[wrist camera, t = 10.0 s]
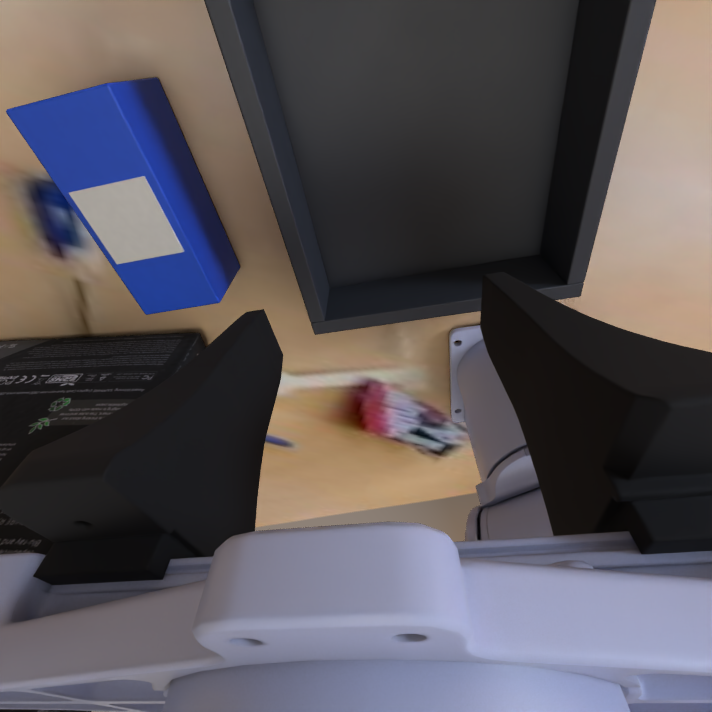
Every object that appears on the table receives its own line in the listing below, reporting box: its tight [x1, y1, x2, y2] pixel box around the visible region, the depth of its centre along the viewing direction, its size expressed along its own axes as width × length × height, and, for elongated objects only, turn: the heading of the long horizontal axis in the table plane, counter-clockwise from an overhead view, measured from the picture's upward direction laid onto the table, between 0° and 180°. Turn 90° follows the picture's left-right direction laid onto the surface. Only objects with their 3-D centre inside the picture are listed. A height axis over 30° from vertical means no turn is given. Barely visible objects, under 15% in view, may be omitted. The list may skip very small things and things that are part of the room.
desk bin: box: [204, 0, 656, 335], centre depth 15 cm, size 17×14×4 cm
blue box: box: [6, 77, 240, 315], centre depth 17 cm, size 9×4×4 cm, turn 11°
